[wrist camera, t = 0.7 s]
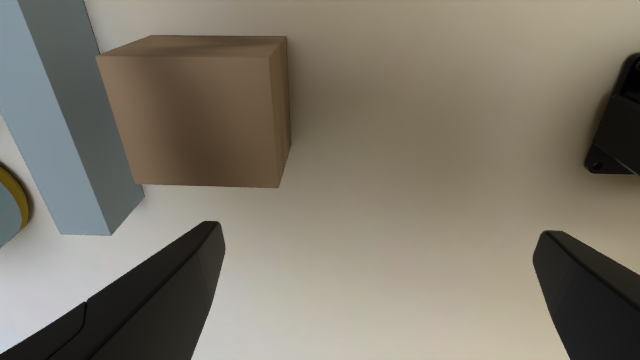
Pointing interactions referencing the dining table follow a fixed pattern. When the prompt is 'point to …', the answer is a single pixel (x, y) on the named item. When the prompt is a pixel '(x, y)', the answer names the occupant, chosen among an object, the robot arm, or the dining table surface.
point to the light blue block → (64, 115)
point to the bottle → (11, 207)
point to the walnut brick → (201, 108)
